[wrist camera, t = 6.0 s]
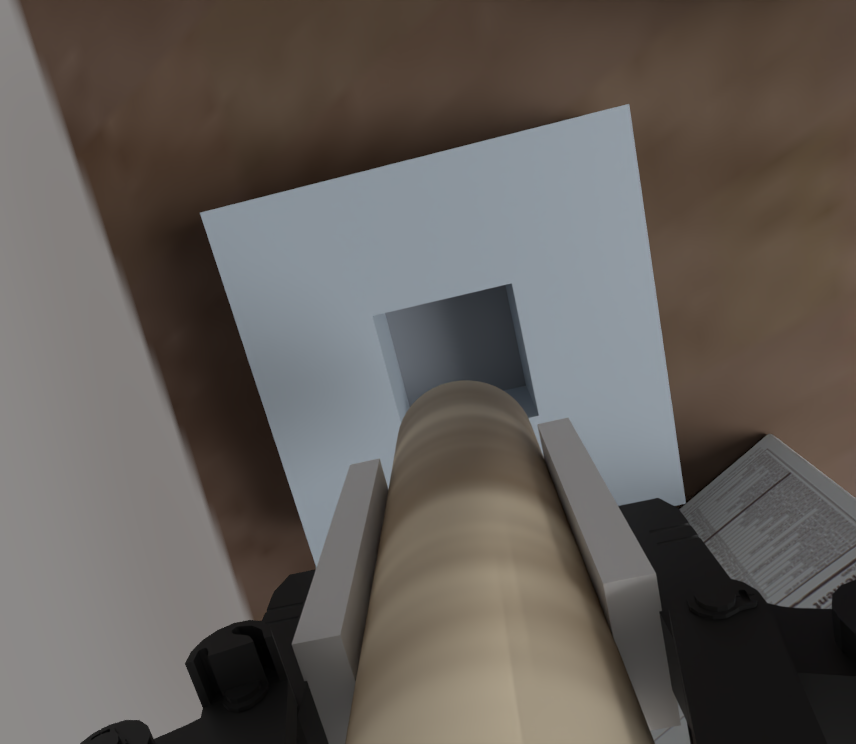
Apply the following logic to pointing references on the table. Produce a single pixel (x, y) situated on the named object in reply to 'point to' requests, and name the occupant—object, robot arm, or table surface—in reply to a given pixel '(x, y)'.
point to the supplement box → (775, 533)
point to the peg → (483, 594)
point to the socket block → (456, 304)
